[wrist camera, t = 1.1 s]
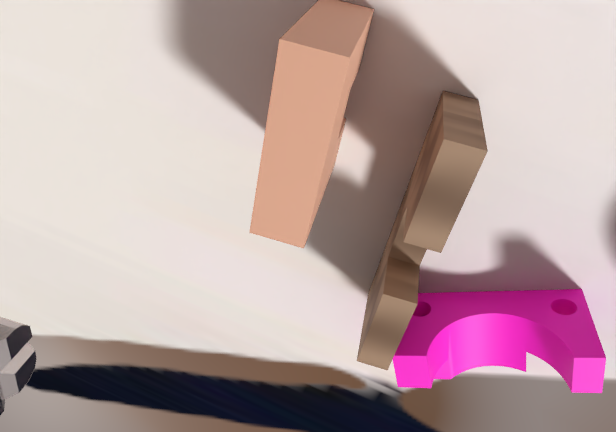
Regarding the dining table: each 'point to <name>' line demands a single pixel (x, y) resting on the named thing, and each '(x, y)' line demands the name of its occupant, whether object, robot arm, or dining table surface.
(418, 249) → the walnut rail
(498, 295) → the toy block
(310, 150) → the tan notched block
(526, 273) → the dining table surface
